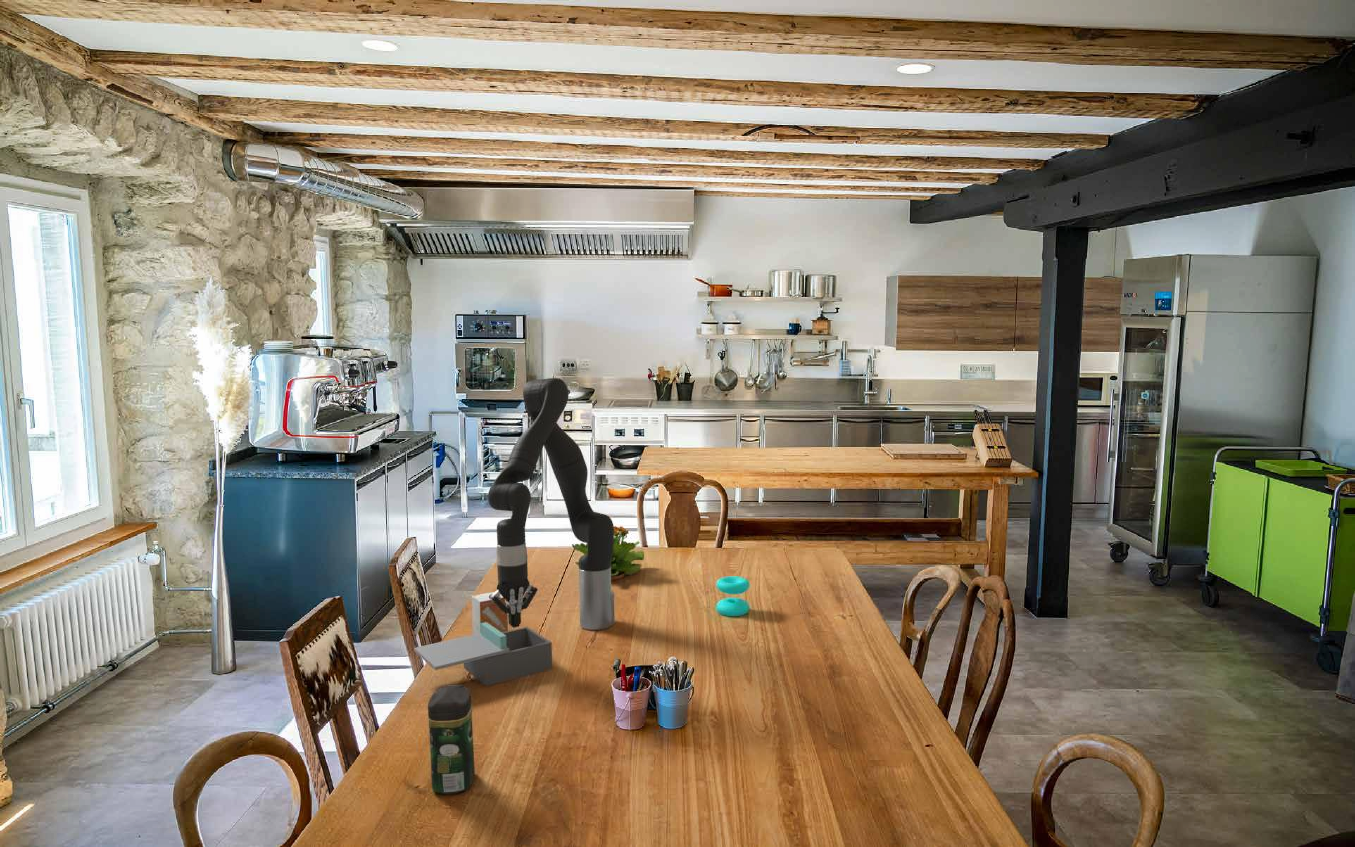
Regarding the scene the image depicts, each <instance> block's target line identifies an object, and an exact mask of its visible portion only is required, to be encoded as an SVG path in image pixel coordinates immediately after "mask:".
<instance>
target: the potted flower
mask: <svg viewBox="0 0 1355 847" xmlns="http://www.w3.org/2000/svg"><path fill="white" fill-rule="evenodd" d="M613 526H614V550H613V557H612V560H611V581H615V580H620V579H622V578H624V577H625V575H627V576H632V575H633V574H636V573H637V572H639V571H640V570H641V567H642V564H640V563H633V562H635V561H644V559H645V552H644V551H643V550H638V551H635V550H634V549H635V548H636V547H637V545H640V540H637V541H636V542H627V541H624V540H625V539H627V538H628V536H627V535H629V530H627V529H626V528H625V527H623V526H622V525H620V526H615V525H613ZM571 546H572V548H573V550H574V551H578V552H580V553H581V554H583V555H587V553H588V543H584V542H581V543H580V544H579V543H575V544H574V543H573V544H572V543H571ZM574 563H575V564H576V565H577V566H578V567H579V561H576V562H574Z"/></svg>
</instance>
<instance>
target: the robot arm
mask: <svg viewBox="0 0 1355 847" xmlns="http://www.w3.org/2000/svg"><path fill="white" fill-rule="evenodd" d="M569 393H570V392H569V389H568V385H567V383H566V382H565V381H564V380H563V379H561V378H558V377H548V378H541V379H534V380H529V381H527V382H526V383H524V387H523V389H522V398H523V402H524V405H525V409H526V411H527V413H528V414H529V416H530V418H531V421H532V423H531V424H530V426H529V427H528V428H527V429H526V430H525V431H524V432H523V433H522V434H521V435H520V437H518V439H517V441H516V442H515V444H514V446H513V448H512V450H511V453H510V454H509V455H510V456H509V457H508V460H507V463H506V465H505V467H504V468H503V469H502V470H501V471H500V473H499V475H497V477H496V478H495V480H494V481H493V483H492V484H491V486H490V488H489V490H488V494H487V500H488V502H487V503H488V504H489V507H491V509H493V510H496V511H505V512H506V511H508V512H512V513H511V514H512V515H511V517H510V518H505V519H501V520H500V521H498V523H497V525H496V539H497V540H496V541H497V547H496V565H497V566H496V567H497V585H496V591H494V592H495V593H494V594H491V595H489V598H490V599H491V600H492V601H493V603H494V604H495V605H496V606H497V607H498V608H499V609H500V610H501V611H503V612H504V613H508V626H510V627H511V628H513V629H514V628H515V629H516V628H520V625H521V624H522V613H521V612H522V611H523V610H525V609H527V608H528V607H529V606H530V604H531V602H532V601H533V600H534V597H535V595H537V592H538V590H539V589H538V587H535V586H534V585H531V583H530V581H529V579H528V577H529V574H528V573H529V572H528V571H529V570H528V569H529V568H528V549H527V543H526V523H527V518H528V514H529V509H530V506H531V505H530V504H531V502H532V501H531V499H532V494H531V491H530V489H529V487H528V486H527V485H526V484H524V483H521V482H524V481H529V480H531V478H532V477H533V474H534V471H535V469H536V467H537V464H538V461H539V458H540V455H541V452H542V451H543V448H544V449H545V453H546V454H547V457H548V460H549V463H550V466H551V469H552V472H553V474H554V477H555V479H556V481H557V484H558V486H559V489H560V493H561V496H562V498H563V501H564V504H565V507H566V511H567V516H568V519H569V524H570V527H571V529H572V530H571V531H572V534H573V535H574V537H575V538H576V539H577V540H578V541H579V542H581V543H583V544H587V543H588V553H587V555H584V554H583V555H581V556H580V557H579V559H578V562H579V566H578V590H579V591H578V592H579V593H578V594H579V600H578V601H579V627H581V628H582V629H585V630H592V631H595V630H596V631H598V630H599V631H600V630H604V629H607V628H610V627H611V626H612V625H615V624H616V623H615V620H616V619H615V592H614V591H612V580H611V560H612V557H613V550H614V537H615V536H614V526H615V525H614V523H613V520H612V518H611V517H610V516H609V515H607V514H604V513H600V512H596V511H594V510H593V508H592V506H591V504H590V502H589V498H588V496H587V492H586V491H587V489H586V488H587V481H588V467H587V462H586V460H585V458H584V455H583V452H582V450H581V448H580V446H579V445H578V443H576V441H575V440H574V439H573V438H572V437H571V436H570V435H569V434H568V433H567V432H566V431H565V430H563V429H562V427H561V426H560V425H559V424H558V421H559V419H560V417H561V416H562V414H563V412H564V411H565V408H566V407H567V404H568V401H569ZM500 594H501V595H502V597H503V598H504V599H505V602H506V606H507V607H506V606H505V605H504V604H503V603H502V602H501V601H500V599H501V597H500Z"/></svg>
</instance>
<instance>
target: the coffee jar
mask: <svg viewBox="0 0 1355 847" xmlns="http://www.w3.org/2000/svg"><path fill="white" fill-rule="evenodd" d="M470 691H471V690H469V689H468V688H467V687H465V686H464V685H463V684H449V685H448V684H447V685H442V686H441V687H440V688H437V690H435V692H433V694H432V695H431V697H430V698H429V700H428V703H427V720H428V730H429V731H428V732H429V751H430V753H429V754H430V772H431V773H430V777H431V789H432V791H433V792H434V793H437V794H442V795H455V794H458V793H462V792H465V791H467V790H469V788H471V785H473V784H472V783H473V782H474V778H475V774H476V773H475V771H476V770H475V768H476V767H475V755H474V754H475V752H474V735H473V733H474V732H473V731H474V730H473V711H472V710H473V709H472V707H473V706H472V694H471V692H470Z"/></svg>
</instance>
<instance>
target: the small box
mask: <svg viewBox="0 0 1355 847" xmlns="http://www.w3.org/2000/svg"><path fill="white" fill-rule="evenodd" d="M495 592H496V591H493V592H486V593H481V594H477V595H476V594H475V595H471V610H472V611H471V613H472V614H471V620H472V621H471V622H472V635H473V634H478V633H481V623H485V622H487V623H489V624H490V625H491V626H493V627H494V628H496V629H497V630H499V631H500V632H506V631H509V620H508V613H504V612H503V611H501V610H500V609H499V608H498V607H497V606H496V605H495V604H494V603H493V601H492V600H491V599H490V598H489V595H491V594H494V593H495ZM500 597H501V599H500V601H501V602H502V603H503V604H504V605H505V606H506V602H505V599H504V598H503V597H502V595H501V594H500ZM506 607H507V606H506Z"/></svg>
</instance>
